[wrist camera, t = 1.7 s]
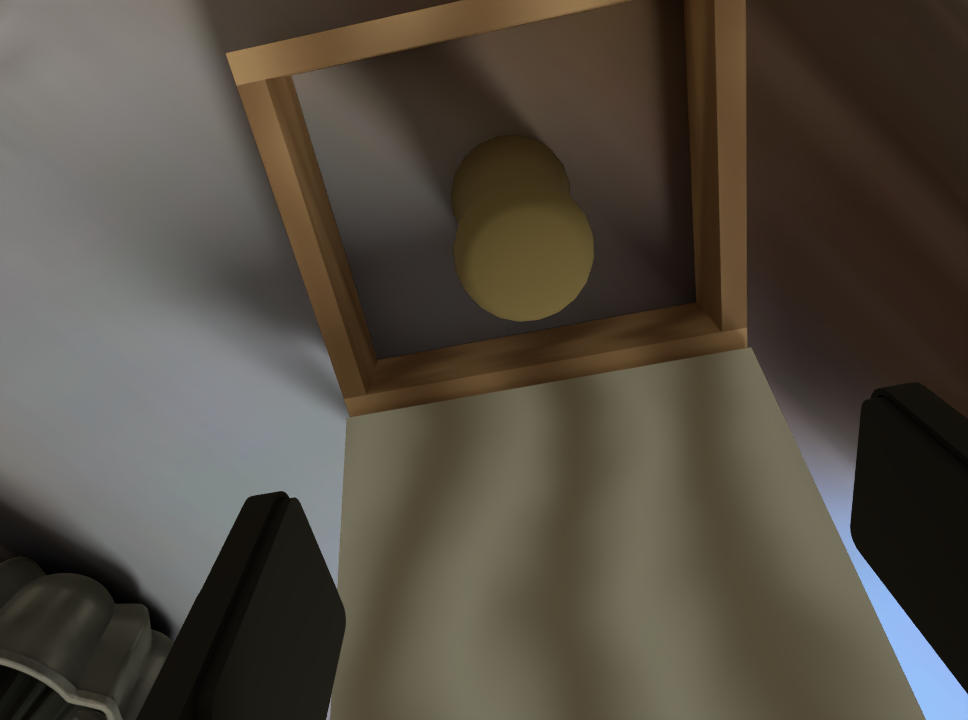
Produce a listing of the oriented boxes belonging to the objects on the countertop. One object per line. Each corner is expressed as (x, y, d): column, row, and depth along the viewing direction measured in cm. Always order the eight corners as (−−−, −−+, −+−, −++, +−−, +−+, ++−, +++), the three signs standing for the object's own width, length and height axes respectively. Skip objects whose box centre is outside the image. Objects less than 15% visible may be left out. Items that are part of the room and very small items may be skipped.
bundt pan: (-99, 443, 38) (-277, 566, 29) (294, 615, 45) (248, 757, 36) (-178, 681, 47) (-331, 829, 38) (155, 792, 54) (92, 939, 45)
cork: (591, 216, 32) (643, 291, 22) (492, 277, 33) (499, 373, 23) (531, 109, 30) (559, 140, 20) (427, 179, 31) (404, 241, 21)
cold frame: (709, -49, 27) (1243, -267, 8) (722, 436, 38) (958, 809, 19) (257, 52, 28) (-164, 63, 10) (397, 489, 40) (328, 882, 21)
